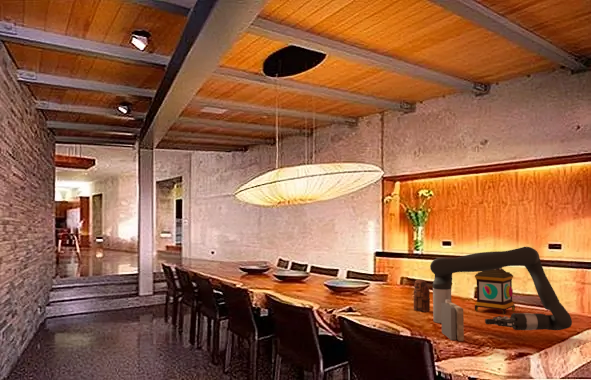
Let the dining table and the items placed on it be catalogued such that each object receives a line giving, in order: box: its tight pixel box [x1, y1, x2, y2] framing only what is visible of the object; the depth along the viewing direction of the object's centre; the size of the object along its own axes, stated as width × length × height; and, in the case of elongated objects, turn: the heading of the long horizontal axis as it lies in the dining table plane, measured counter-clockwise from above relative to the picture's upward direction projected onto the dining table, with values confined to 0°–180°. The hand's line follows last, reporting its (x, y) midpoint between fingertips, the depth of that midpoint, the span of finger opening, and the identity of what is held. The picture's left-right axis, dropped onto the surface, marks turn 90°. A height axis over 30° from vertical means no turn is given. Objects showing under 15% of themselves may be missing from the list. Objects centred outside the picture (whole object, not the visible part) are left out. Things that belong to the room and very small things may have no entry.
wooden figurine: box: [413, 279, 431, 313], centre depth 278 cm, size 12×6×18 cm, turn 33°
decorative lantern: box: [474, 267, 516, 316], centre depth 278 cm, size 20×20×30 cm
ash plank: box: [447, 301, 465, 342], centre depth 215 cm, size 16×2×14 cm, turn 179°
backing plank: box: [441, 299, 457, 341], centre depth 218 cm, size 17×5×15 cm, turn 0°
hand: (485, 321), depth 214 cm, fingers closed
